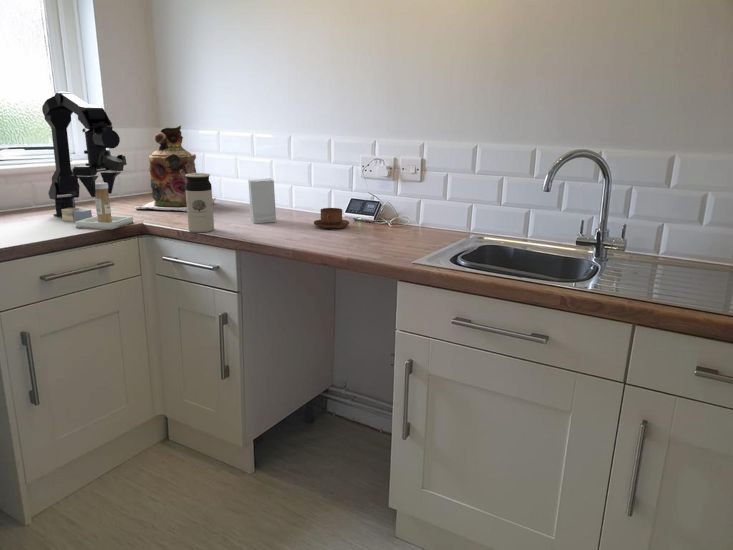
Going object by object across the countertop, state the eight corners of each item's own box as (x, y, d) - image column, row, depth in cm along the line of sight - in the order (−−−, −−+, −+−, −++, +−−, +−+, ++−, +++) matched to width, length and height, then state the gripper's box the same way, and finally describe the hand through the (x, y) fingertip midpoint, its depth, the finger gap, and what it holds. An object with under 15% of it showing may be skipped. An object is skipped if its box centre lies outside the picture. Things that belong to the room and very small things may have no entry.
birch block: (70, 218, 201) (69, 207, 199) (80, 219, 200) (79, 208, 199) (62, 220, 197) (61, 209, 196) (73, 221, 196) (71, 209, 195)
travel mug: (193, 227, 187) (189, 172, 182) (217, 228, 187) (213, 173, 182) (185, 232, 179) (180, 175, 174) (210, 233, 179) (206, 175, 174)
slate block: (82, 220, 198) (80, 209, 197) (92, 221, 197) (91, 209, 196) (74, 222, 194) (73, 211, 193) (85, 223, 193) (83, 211, 192)
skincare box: (273, 219, 203) (271, 178, 199) (276, 222, 198) (275, 179, 193) (249, 221, 200) (247, 178, 196) (252, 224, 195) (250, 180, 191)
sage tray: (100, 220, 197) (99, 215, 196) (133, 222, 195) (132, 216, 194) (76, 227, 185) (75, 221, 184) (111, 229, 183) (110, 223, 182)
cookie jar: (163, 201, 242) (156, 124, 234) (217, 203, 239) (213, 125, 230) (132, 210, 219) (123, 125, 210) (192, 212, 216) (186, 126, 207)
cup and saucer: (351, 230, 186) (351, 212, 185) (315, 231, 184) (314, 212, 183) (346, 224, 198) (346, 206, 196) (312, 224, 196) (312, 207, 194)
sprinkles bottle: (113, 223, 189) (108, 183, 186) (99, 224, 187) (93, 184, 183) (110, 221, 193) (106, 181, 189) (96, 222, 190) (91, 182, 187)
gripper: (101, 149, 173) (106, 200, 177) (135, 146, 190) (139, 192, 195) (68, 148, 174) (74, 198, 179) (105, 145, 192) (110, 191, 196)
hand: (101, 195), depth 187 cm, fingers open, 8 cm apart
